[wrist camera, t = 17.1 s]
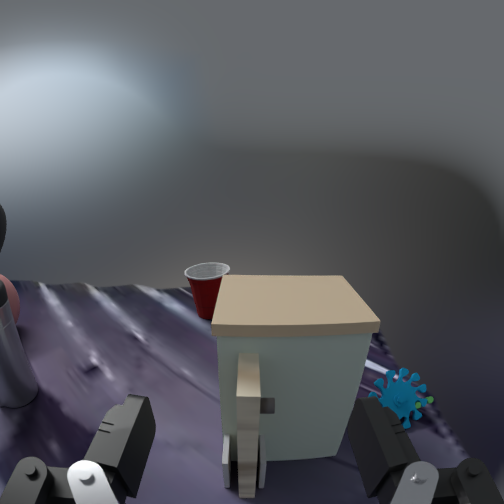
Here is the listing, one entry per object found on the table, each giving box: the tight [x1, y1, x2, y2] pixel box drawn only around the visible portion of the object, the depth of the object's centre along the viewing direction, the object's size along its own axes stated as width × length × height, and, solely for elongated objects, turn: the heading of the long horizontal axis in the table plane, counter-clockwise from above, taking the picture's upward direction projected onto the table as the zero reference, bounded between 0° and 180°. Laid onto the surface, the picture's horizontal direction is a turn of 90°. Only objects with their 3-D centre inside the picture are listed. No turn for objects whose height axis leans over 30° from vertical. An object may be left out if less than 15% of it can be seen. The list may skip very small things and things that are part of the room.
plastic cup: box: [185, 263, 230, 319], centre depth 71 cm, size 11×11×12 cm
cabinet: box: [211, 275, 380, 488], centre depth 32 cm, size 17×15×21 cm
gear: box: [368, 368, 433, 429], centre depth 37 cm, size 11×6×10 cm
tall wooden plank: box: [236, 353, 275, 498], centre depth 25 cm, size 6×3×18 cm, turn 0°
